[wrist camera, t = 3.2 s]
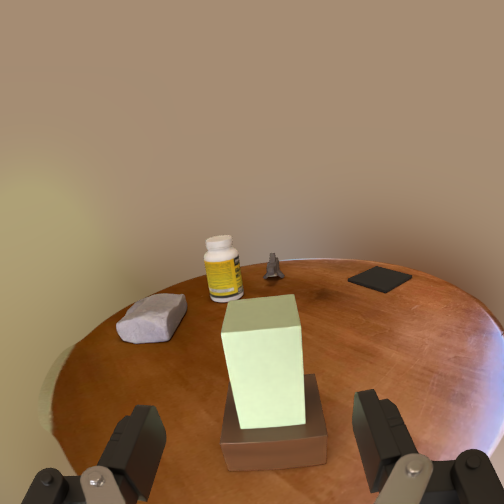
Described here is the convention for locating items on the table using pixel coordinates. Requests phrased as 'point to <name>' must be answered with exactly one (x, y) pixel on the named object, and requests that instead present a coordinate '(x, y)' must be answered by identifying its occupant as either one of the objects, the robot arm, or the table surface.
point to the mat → (380, 279)
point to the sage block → (265, 361)
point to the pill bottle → (223, 269)
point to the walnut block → (276, 438)
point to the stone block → (152, 318)
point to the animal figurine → (273, 267)
